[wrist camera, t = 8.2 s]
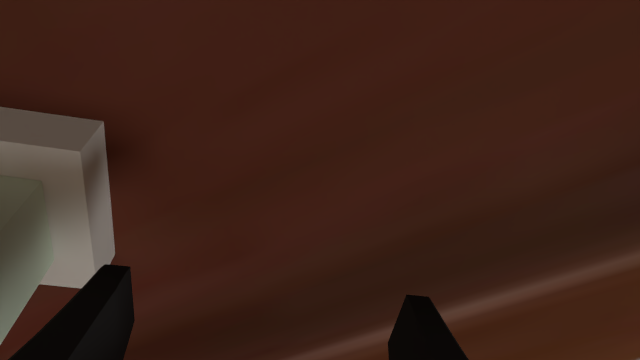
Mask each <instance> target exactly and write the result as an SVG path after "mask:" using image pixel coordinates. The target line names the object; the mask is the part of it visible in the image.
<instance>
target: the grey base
mask: <svg viewBox="0 0 640 360" xmlns="http://www.w3.org/2000/svg"><path fill="white" fill-rule="evenodd" d="M0 175H2V176H9V177H16V178H24V179H31V180H38V181H42V186H43V192H44V198H45V204H46V211H47V217H48V223H49V229H50V236H51V242H52V248H53V254H54V261H53V263H52V265H51V266H50V268H49V269H48V271H47V272H46V274H45V276H44V277H43V279H42V280H41V282H40V283H39V284H44V285H53V286H63V287H72V288H82V287H83V286H84V285H85V284H86V283H87V282H88V281H89V280H90V279H91V278H92V276H93V275H94V274H95V273H96V272H97V271H98V270H99V269H100V268H101V267H102V266H103V265H105V264H108V265H110V263H111V261H112V259H113V257H114V255H115V247H114V235H113V224H112V212H111V201H110V190H109V178H108V167H107V155H106V144H105V132H104V121H97V120H90V119H82V118H75V117H68V116H61V115H54V114H47V113H40V112H33V111H26V110H19V109H12V108H5V107H0Z"/></svg>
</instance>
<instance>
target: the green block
mask: <svg viewBox="0 0 640 360" xmlns="http://www.w3.org/2000/svg"><path fill="white" fill-rule="evenodd" d="M53 261H54V254H53V248H52V242H51V236H50V229H49V223H48V217H47V211H46V204H45V198H44V192H43V186H42V181H38V180H31V179H24V178H16V177H9V176H2V175H0V345H1V343H2V341H3V340H4V338H5V337H6V335H7V334H8V332H9V330H10V329H11V327H12V326H13V324H14V323H15V321H16V319H17V318H18V316H19V315H20V313H21V312H22V310H23V308H24V307H25V305H26V304H27V302H28V301H29V299H30V297H31V296H32V294H33V293H34V291H35V290H36V288H37V286H38V285H39V283H40V282H41V280H42V279H43V277H44V276H45V274H46V272H47V271H48V269H49V268H50V266H51V265H52V263H53Z"/></svg>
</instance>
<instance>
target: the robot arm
mask: <svg viewBox="0 0 640 360" xmlns="http://www.w3.org/2000/svg"><path fill="white" fill-rule="evenodd" d="M133 323H134V308H133V296H132V284H131V272H130V267H128V266H118V265H108V264H105V265H103V266H102V267H101V268H100V269H99V270H98V271H97V272H96V273H95V274H94V275H93V276H92V278H91V279H90V280H89V281H88V282H87V283H86V284H85V285H84V286H83V287H82V288H81V290H80V291H79V292H78V293H77V294H76V295H75V296H74V297H73V298H72V299H71V300H70V301H69V302H68V303H67V304H66V305H65V306H64V307H63V308H62V309H61V310H60V311H59V312H58V313H57V314H56V315H55V316H54V317H53V318H52V319H51V320H50V321H49V322H48V323H47V324H46V325H45V326H44V327H43V328H42V329H41V330H40V331H39V332H38V333H37V334H36V335H35V336H34V337H33V338H32V339H30V340H29V341H28V342H27V343H26V344H25V345H24V346H23V347H22V348H20V349H19V350H18V351H17V352H16V353H15V354H14V355H13V356H12V357H10V358H9V359H8V360H123V358H124V354H125V351H126V348H127V344H128V341H129V338H130V334H131V331H132V327H133ZM388 351H389V360H469V359H468V358H467V357H466V355H465V354H464V352H463V351H462V349H461V347H460V346H459V344H458V343H457V341H456V340H455V338H454V337H453V335H452V333H451V332H450V330H449V329H448V327H447V325H446V324H445V322H444V321H443V319H442V317H441V316H440V314H439V312H438V311H437V309H436V308H435V306H434V304H433V303H432V301H431V300H430V298H429V297H424V296H415V295H406V298H405V300H404V303H403V305H402V308H401V310H400V313H399V316H398V318H397V321H396V323H395V326H394V329H393V331H392V334H391V336H390V339H389V342H388Z"/></svg>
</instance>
